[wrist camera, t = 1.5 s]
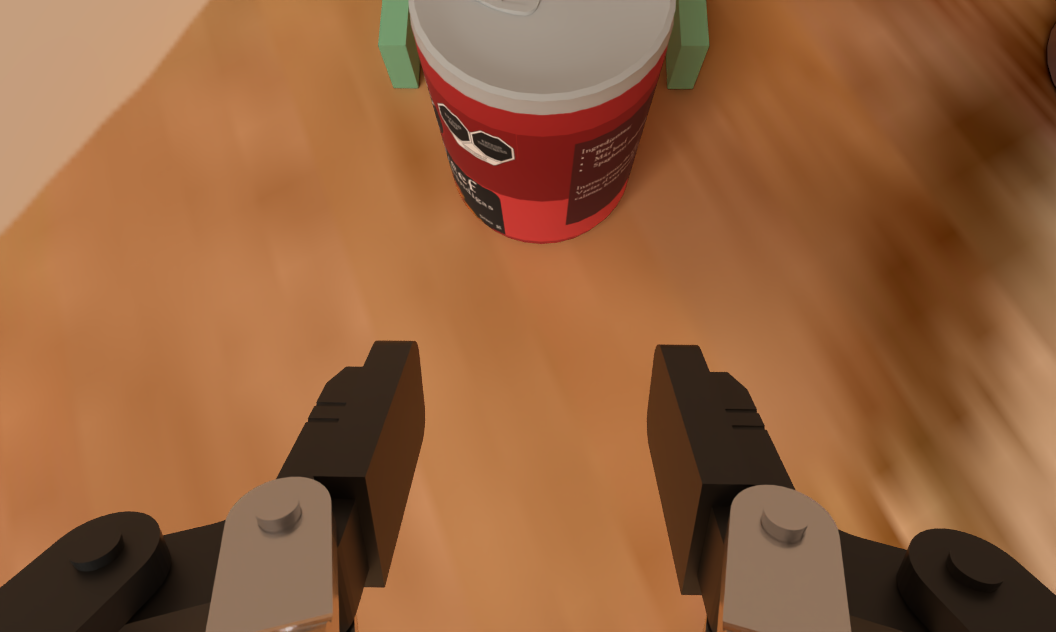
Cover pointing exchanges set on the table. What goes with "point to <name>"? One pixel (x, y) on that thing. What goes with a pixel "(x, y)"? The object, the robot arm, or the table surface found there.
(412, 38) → the green u-shaped frame
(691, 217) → the table surface
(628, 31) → the canned food
